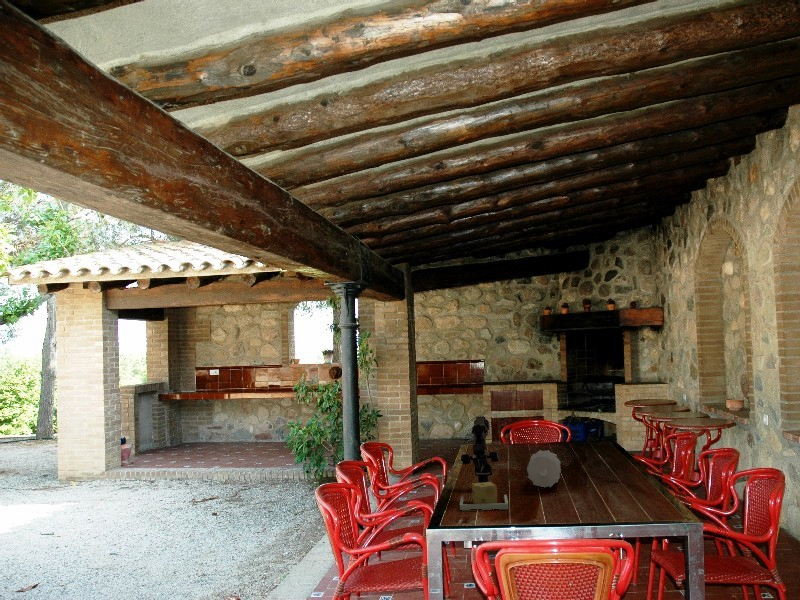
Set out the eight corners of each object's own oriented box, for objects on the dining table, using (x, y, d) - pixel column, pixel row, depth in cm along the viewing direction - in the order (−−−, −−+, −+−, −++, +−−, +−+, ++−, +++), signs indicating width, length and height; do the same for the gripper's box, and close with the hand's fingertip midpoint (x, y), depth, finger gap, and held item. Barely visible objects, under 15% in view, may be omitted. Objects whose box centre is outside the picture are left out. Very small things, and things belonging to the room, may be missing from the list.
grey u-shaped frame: (461, 501, 348) (460, 496, 349) (506, 499, 346) (506, 494, 346) (460, 510, 329) (459, 505, 330) (508, 509, 327) (508, 503, 327)
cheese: (476, 508, 332) (475, 486, 333) (472, 503, 343) (470, 482, 344) (498, 506, 333) (496, 485, 334) (493, 501, 344) (491, 481, 345)
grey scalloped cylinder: (554, 487, 387) (553, 495, 363) (523, 473, 392) (521, 480, 368) (566, 456, 387) (566, 462, 363) (536, 443, 392) (534, 448, 368)
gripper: (458, 438, 363) (458, 465, 352) (495, 435, 358) (495, 462, 347) (463, 450, 370) (462, 477, 359) (498, 447, 366) (499, 474, 355)
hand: (480, 472), depth 355 cm, fingers closed
